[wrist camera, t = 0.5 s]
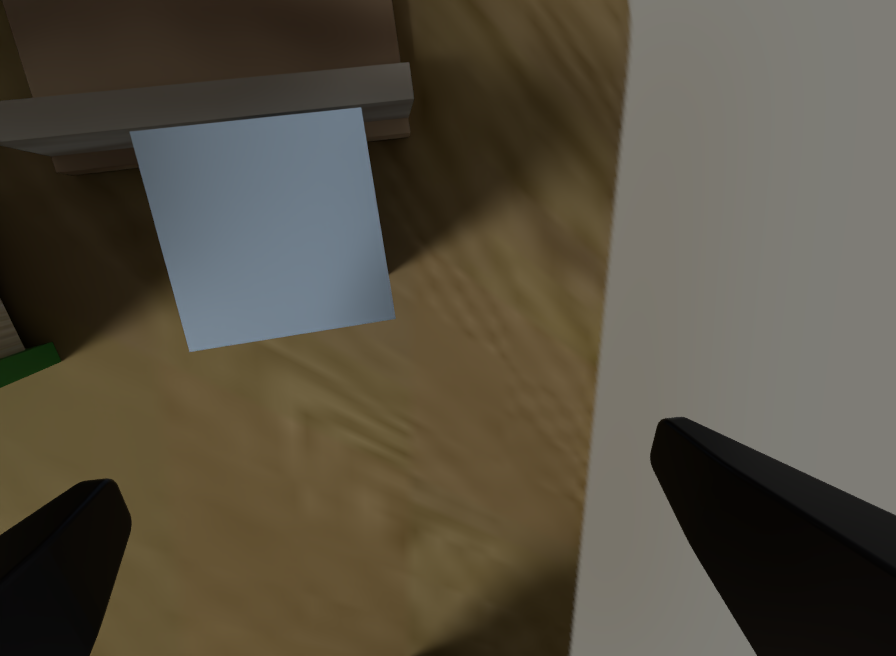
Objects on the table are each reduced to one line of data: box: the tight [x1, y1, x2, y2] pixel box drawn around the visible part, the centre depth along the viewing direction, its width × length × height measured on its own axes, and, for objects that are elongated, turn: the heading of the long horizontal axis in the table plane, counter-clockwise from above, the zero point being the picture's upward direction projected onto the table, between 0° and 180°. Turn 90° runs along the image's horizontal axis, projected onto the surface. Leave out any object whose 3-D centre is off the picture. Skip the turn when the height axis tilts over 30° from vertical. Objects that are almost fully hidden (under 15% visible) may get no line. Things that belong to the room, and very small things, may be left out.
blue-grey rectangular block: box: [130, 107, 396, 352], centre depth 16 cm, size 5×5×10 cm
